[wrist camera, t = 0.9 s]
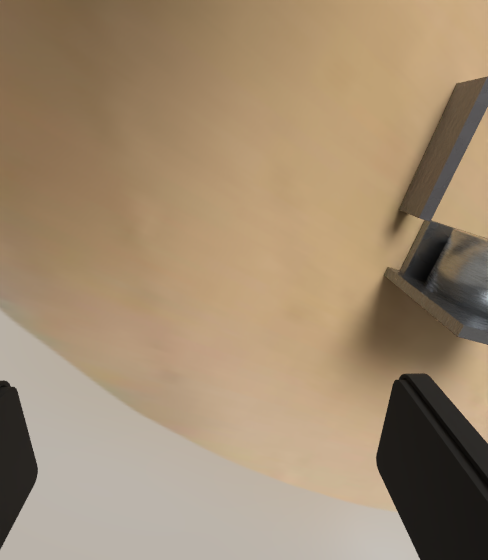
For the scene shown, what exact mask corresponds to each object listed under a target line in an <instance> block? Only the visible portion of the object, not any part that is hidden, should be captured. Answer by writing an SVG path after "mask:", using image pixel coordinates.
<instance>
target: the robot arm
mask: <svg viewBox="0 0 488 560" xmlns="http://www.w3.org/2000/svg"><path fill="white" fill-rule="evenodd" d="M376 462H377V467H378V470H379V473H380V475H381V477H382V479H383V481H384V483H385V485H386V488H387V490H388V492H389V494H390V496H391V498H392V500H393V502H394V505H395V507H396V509H397V511H398V513H399V515H400V517H401V519H402V522H403V524H404V526H405V528H406V530H407V532H408V534H409V536H410V538H411V541H412V543H413V545H414V547H415V549H416V551H417V553H418V556H419V558H420V560H488V444H487V442H486V441H485V440H484V439H483V438H482V437H481V435H480V434H479V433H478V432H477V431H476V430H475V428H474V427H473V426H472V425H471V424H470V423H469V421H468V420H467V419H466V418H465V417H464V416H463V414H462V413H461V412H460V411H459V410H458V409H457V408H456V406H455V405H454V404H453V403H452V402H451V401H450V399H449V398H448V397H447V396H446V395H445V394H444V392H443V391H442V390H441V389H440V388H439V387H438V385H437V384H436V383H435V382H434V381H433V380H432V379H431V377H430V376H428V375H427V374H402V375H401V376H400V378H399V380H395V381H394V383H393V387H392V391H391V395H390V400H389V404H388V408H387V412H386V417H385V421H384V425H383V430H382V434H381V438H380V442H379V447H378V451H377V456H376ZM37 473H38V468H37V463H36V459H35V456H34V452H33V448H32V445H31V441H30V437H29V433H28V429H27V426H26V422H25V418H24V415H23V411H22V407H21V403H20V400H19V396H18V392H17V389H16V388H15V387H11V386H10V384H9V383H8V382H7V381H0V549H1V547H2V545H3V543H4V541H5V539H6V537H7V535H8V534H9V531H10V530H11V528H12V526H13V524H14V522H15V520H16V518H17V516H18V514H19V512H20V511H21V509H22V507H23V505H24V503H25V501H26V499H27V497H28V495H29V493H30V492H31V490H32V488H33V486H34V484H35V481H36V478H37Z"/></svg>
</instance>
